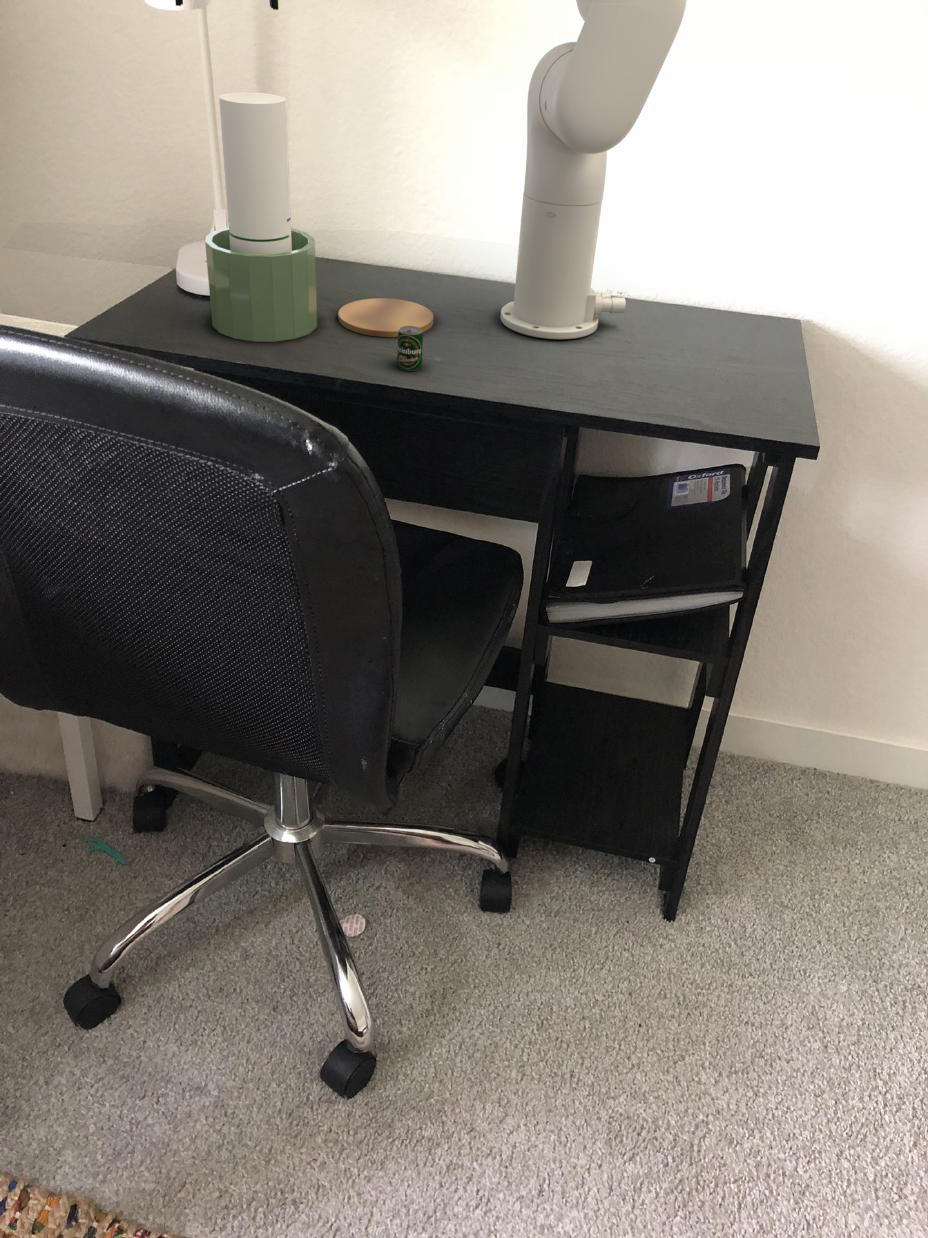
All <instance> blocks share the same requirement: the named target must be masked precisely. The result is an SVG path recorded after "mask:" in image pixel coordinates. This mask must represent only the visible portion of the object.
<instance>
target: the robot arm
mask: <svg viewBox="0 0 928 1238" xmlns="http://www.w3.org/2000/svg"><path fill="white" fill-rule="evenodd" d="M174 1H175V2H174V3H175V6H176V7H182V5H184V0H174ZM575 2H576V7H577V10H578V12H579V15H580V17H581V18H582V20H583V21H584V23H583V25H582V27H581V29H580V33H579V35H578V37H577V40H576V41H569V42H564V43H561V44H559V45H556V46H554V47H552V48H551V49H550V50H548V51H547V52H546V53H545V54H544V55H543V56H542V58H541V59H539V61H538V62H537V64H536V65H535V67H534V70H533V72H532V75H531V78H530V81H529V85H528V93H527V101H526V102H527V103H526V104H527V106H526V108H527V109H526V112H527V113H526V121H527V122H526V134H527V135H526V138H527V139H526V160H525V162H526V163H525V172H524V184H523V185H524V186H523V193H522V206H521V215H520V228H519V239H518V250H517V262H516V273H515V283H514V295H513V301H510V302H507V303H506V304H505V305H504V306H502V308H501V309H500V316H499V318H500V321H501V323H502V324H503V325H504V326H505V327H506V328H508V329H509V330H511V331H514V332H516V333H518V334H522V335H525V336H528V337H533V338H537V339H546V340H572V339H573V340H574V339H580V338H584V337H587V336H590V335H591V334H593V333H595V331H596V330H597V329H598V327H599V317H598V316H600V315H601V314H602V313H609V314H624V313H625V311H626V306H627V302H626V298H625V297H618V296H617V297H615V296H614V297H613V296H612V294H611V293H610V292H600V293H595V291H594V290H593V288H592V280H593V279H592V278H593V274H594V273H593V272H594V265H595V257H596V250H597V241H598V236H599V234H598V233H599V226H600V220H601V213H602V204H603V199H604V192H605V184H606V174H607V162H608V161H607V159H608V151H610V150H611V149H613V148H614V147H616V146H618V144H620V143H621V142H622V141H623V140H624V139H625V138H626V137H627V136H628V134H629V133H630V132H631V130H632V129H633V127H634V126H635V124H636V122H637V121H638V119H639V116H640V115H641V113H642V111H643V109H644V107H645V105H646V102H647V100H648V99H649V97H650V94H651V92H652V89H653V88H654V85H655V83H656V81H657V79H658V76H659V74H660V72H661V70H662V68H663V66H664V63H665V61H666V60H667V56H668V54H669V52H670V50H671V48H672V46H673V44H674V41H675V40H676V37H677V35H678V32H679V29H680V27H681V25H682V22H683V18H684V15H685V11H686V8H687V7H686V6H687V0H575ZM269 6H270V8H271V9H272V10H273V11H279V0H269Z"/></svg>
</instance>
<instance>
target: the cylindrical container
mask: <svg viewBox="0 0 928 1238" xmlns="http://www.w3.org/2000/svg"><path fill="white" fill-rule="evenodd" d="M218 100H219V115H220V126H221V142H222V154H223V168H224V181H225V195H226V209H227V223H228V227H229V237H230V251H234V252H241V253H248V254H277V253H286V252H291V251H292V242H291V228H292V221H291V220H292V219H291V199H290V198H291V194H290V193H291V192H290V169H289V145H288V144H289V143H288V120H287V118H288V117H287V115H288V114H287V99H286V97H284V96H282V95H279V94H274V93H268V92H267V93H266V92H258V91H257V92H254V91H237V92H235V91H234V92H227V93H222V94H220V95H219V96H218Z"/></svg>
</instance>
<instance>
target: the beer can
mask: <svg viewBox="0 0 928 1238" xmlns="http://www.w3.org/2000/svg"><path fill="white" fill-rule="evenodd" d="M423 347H424V334H423V332H422V329H421V328H419V327H415V326H403V327H401V328H400V329H399V333H398V337H397V353H396V355H397V357H396V358H397V359H396V363H397V365H396V366H397V367H398V368H399V369H400V370H403V371H405V372H415V371H419V370H420V369H421V368H422V367H423V350H424V348H423Z"/></svg>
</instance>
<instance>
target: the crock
mask: <svg viewBox="0 0 928 1238" xmlns="http://www.w3.org/2000/svg"><path fill="white" fill-rule="evenodd" d="M291 242H292V251H291V252H286V253H277V254H248V253H241V252H234V251H230V237H229V226H228V227H223V228H220V229H216V230H214V231H212V232H211V233H209V234H207V235H206V236H205V241H204V245H205V257H206V268H207V278H208V279H207V280H208V290H209V301H210V302H209V303H210V312H211V323H212V324H211V325H212V327H213V329H215V331H217V332H218V333H219V334H221V335H223V336H226V337H229V338H231V339H234V340H235V339H236V340H240V341H248V342H254V343H255V342H256V343H260V342H261V343H276V342H283V341H291V340H296V339H298V338H299V339H300V338H302V337H304V336H308V335H310V334H311V333H312V332H314V330H316V329H317V328H318V308H317V307H318V306H317V303H318V302H317V301H318V300H317V269H316V267H317V266H316V238H315V237H313V236H312V235H311V234H309V233H308V232H306V231H303V230H299V229H297V228H292V227H291Z"/></svg>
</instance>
